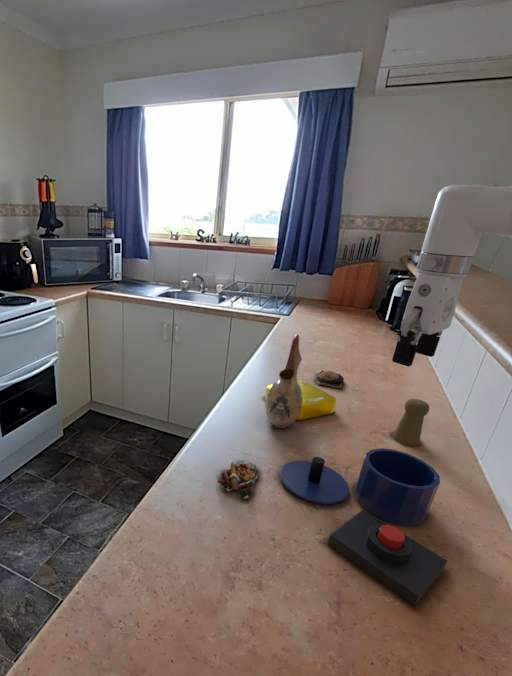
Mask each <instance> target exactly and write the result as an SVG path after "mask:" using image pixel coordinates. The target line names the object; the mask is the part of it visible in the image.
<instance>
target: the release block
mask: <svg viewBox="0 0 512 676" xmlns="http://www.w3.org/2000/svg"><path fill="white" fill-rule="evenodd" d="M383 525H388V524H387V523H386V522H384V521H382V519H380V518H378V517H377V516H375V515H373V514H372V513H370V512H369V511H367V510H364V509H362V510H360V511H359V512H358V513H357V514H355V515H354V516H352V518H350V519H349V520H348V521H346V522H345V523H344V524H342V525H341V526H340V527H339V528H337V529H336V530H335V531H333V532H332V533H331V534H330V535H329V538H328V542H327V545H328V546H329V547H330V548H332V549H333V550H334V551H336V552H337V553H339V554H340V555H342V557H344V558H346V559H347V560H348V561H350V562H351V563H352V564H354V565H355V566H357V567H358V568H359V569H361V570H362V571H364V572H365V573H367V574H368V576H370V577H372V578H373V579H375V580H377V581H378V582H379V583H381V584H382V585H383V586H385V587H386V588H387V589H388V590H390V591H392V592H393V593H394V594H396V595H397V596H398V597H400V598H401V599H403V600H404V601H406V602H407V603H408V604H410V605H411V606H412V607H415V606H416V605H417V604H418V603H419V601H420V600H421V599H422V597H423V596H424V595H425V593H426V592H427V591H428V590H429V589H430V587H431V586H432V585H433V583H434V582H435V581H436V580H437V579H438V577H439V576H440V575H441V573H442V572H443V571H444V570H445V567H446V566H447V562H448V560H447V559H446V558H443V557H442V556H441V555H438V554H437V553H435V552H434V551H432V550H430V549H429V548H427V547H425V546H424V545H423V544H421V543H420V542H417V541H415V540H414V539H413V538H411V537H409V536H408V535H406V534H405V533H403V534H404V536H405V540H404V542H403V545H402V547H401V548H400V549H397V550H395V549H392V548H389V547H387V546H385V545H383V544H382V543H380V541H379V540H378V537H377V536H378V533H379V530H380V527H381V526H383Z"/></svg>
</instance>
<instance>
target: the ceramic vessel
mask: <svg viewBox="0 0 512 676" xmlns="http://www.w3.org/2000/svg"><path fill="white" fill-rule="evenodd" d="M300 339H301V338H300V335H299V334H295V335H294V336H293V338H292V342H291V346H290V351H289V353H288V359H287V362H286V364H285V368H284V369H283V370H281V371H280V372H279V374H278V378H279V379H277V380H276V381H275V382H273V383H272V384H273V385H272V384H271V385H272V386H271V388H270V390H269V392H268V394H267V398H266V399H265V405H264V406H265V408H264V409H265V415H266V418H267V419H268V422H269V423H270V424H271V425H272V426H273V427H275V428H277V429H285V428H287V427H289V426H291V425H292V424H293V423H295V421H296V420H297V419H296V418H297V417H298V415H299V413H300V411H301V407H302V391H301V388H300V386H299V384H298V382H297V380H298V370H299V367H300V365H301V362H302V360H303V359H302V354H301V352H300Z"/></svg>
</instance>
